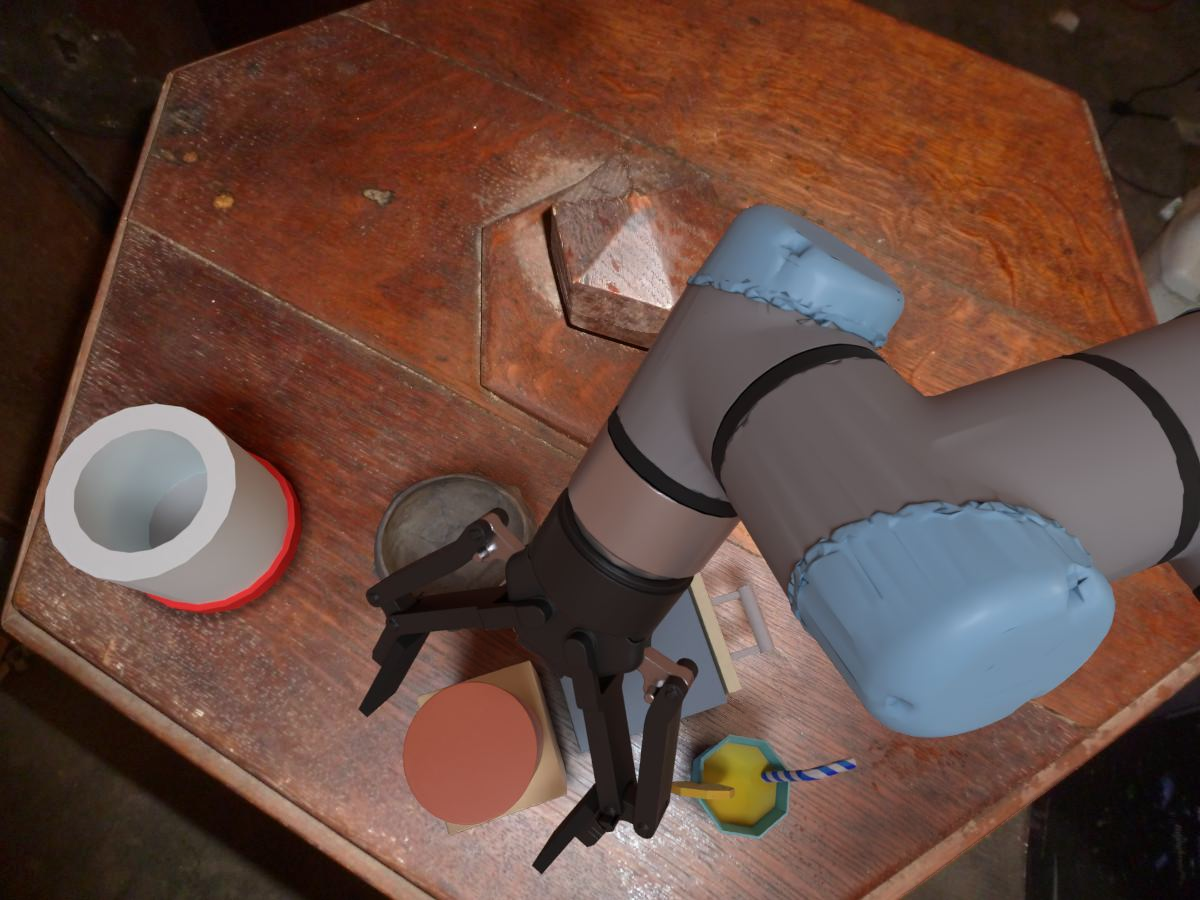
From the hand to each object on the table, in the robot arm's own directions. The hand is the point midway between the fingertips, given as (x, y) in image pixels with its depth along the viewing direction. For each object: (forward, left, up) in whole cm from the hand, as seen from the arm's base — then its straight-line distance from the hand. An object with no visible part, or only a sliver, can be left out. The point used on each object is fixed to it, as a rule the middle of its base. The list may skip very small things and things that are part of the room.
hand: (460, 775), depth 46 cm
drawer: (+4, -18, -24) cm, 31 cm away
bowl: (+18, -2, -25) cm, 31 cm away
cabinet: (+4, -14, -25) cm, 29 cm away
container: (+28, +20, -25) cm, 43 cm away
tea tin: (+1, -2, -5) cm, 5 cm away
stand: (+1, -2, -25) cm, 25 cm away
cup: (-8, -20, -25) cm, 33 cm away
